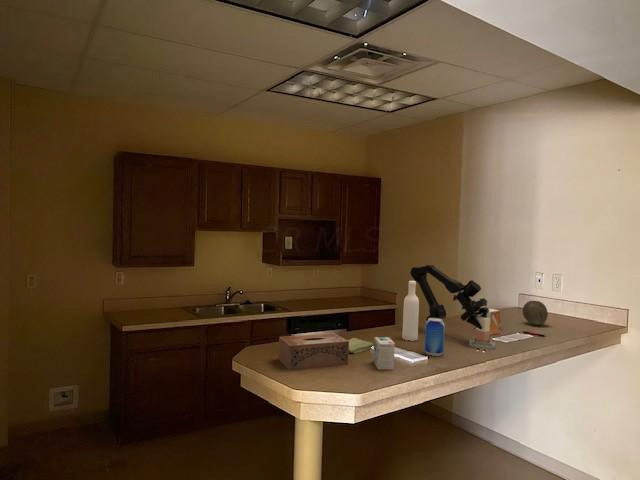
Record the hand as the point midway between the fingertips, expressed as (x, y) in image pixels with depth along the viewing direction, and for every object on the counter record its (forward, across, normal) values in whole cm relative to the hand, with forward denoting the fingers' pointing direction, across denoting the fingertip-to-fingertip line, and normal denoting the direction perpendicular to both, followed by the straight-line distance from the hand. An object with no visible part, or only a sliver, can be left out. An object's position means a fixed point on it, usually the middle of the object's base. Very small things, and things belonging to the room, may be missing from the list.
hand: (485, 327), depth 229 cm
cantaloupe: (+2, +72, +11) cm, 72 cm away
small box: (-2, +27, +15) cm, 31 cm away
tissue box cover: (-14, -87, +28) cm, 93 cm away
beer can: (+2, -34, +11) cm, 36 cm away
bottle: (-15, -21, +28) cm, 38 cm away
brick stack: (+5, 0, +6) cm, 8 cm away
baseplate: (+5, 0, +7) cm, 9 cm away
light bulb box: (0, -67, +13) cm, 68 cm away
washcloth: (-18, -58, +31) cm, 68 cm away
